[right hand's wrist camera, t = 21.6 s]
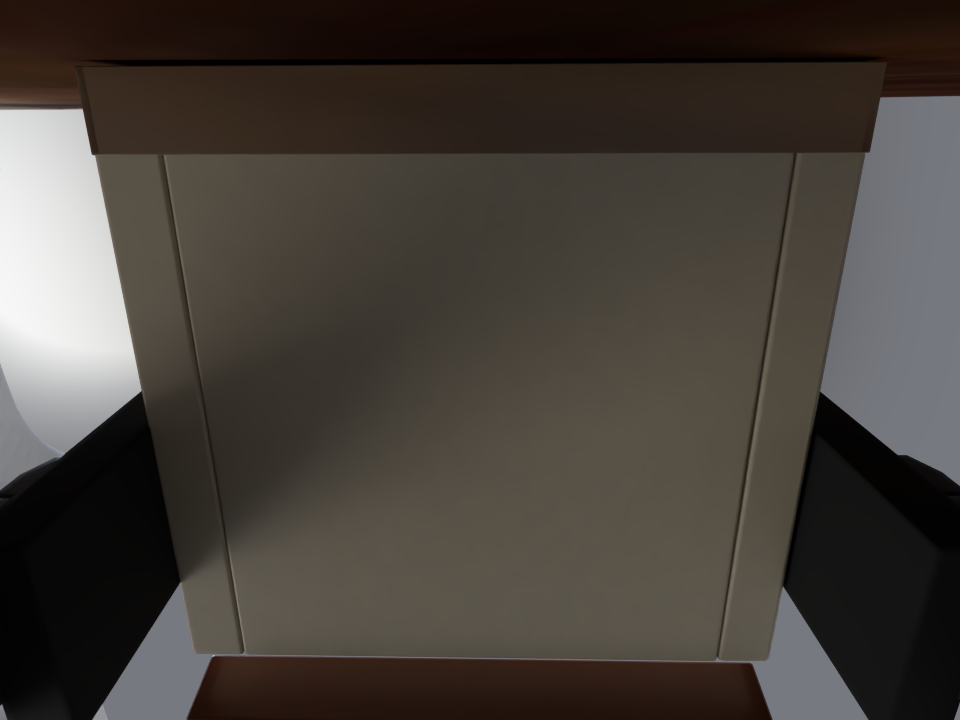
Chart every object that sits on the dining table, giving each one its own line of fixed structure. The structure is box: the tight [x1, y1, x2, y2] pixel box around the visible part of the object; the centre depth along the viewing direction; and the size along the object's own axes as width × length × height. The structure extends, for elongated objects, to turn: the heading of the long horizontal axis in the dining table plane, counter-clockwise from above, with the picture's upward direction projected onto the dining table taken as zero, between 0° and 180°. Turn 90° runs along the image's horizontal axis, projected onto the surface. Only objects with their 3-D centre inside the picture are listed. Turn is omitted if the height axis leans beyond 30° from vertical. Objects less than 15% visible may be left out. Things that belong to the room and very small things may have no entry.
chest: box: [75, 61, 887, 661], centre depth 15 cm, size 13×9×9 cm
